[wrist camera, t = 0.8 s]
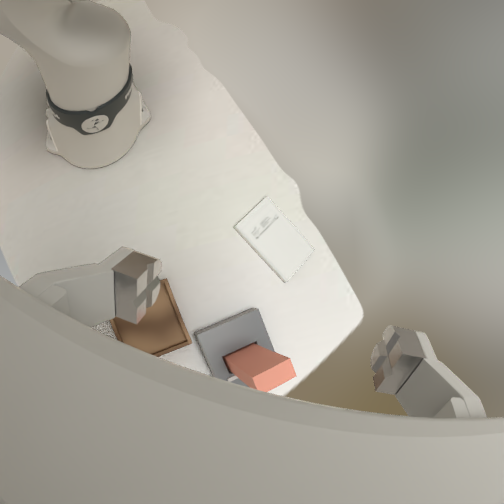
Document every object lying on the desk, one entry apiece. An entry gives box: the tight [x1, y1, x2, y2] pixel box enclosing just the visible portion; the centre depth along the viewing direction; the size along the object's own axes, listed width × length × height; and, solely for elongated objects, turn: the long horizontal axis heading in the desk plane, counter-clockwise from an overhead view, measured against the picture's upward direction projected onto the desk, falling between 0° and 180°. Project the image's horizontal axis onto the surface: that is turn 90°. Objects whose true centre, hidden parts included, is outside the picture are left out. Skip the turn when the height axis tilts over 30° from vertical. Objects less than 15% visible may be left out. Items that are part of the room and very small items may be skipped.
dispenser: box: [194, 308, 275, 388], centre depth 43 cm, size 12×10×3 cm
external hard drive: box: [233, 196, 315, 283], centre depth 49 cm, size 2×8×12 cm
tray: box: [110, 278, 192, 357], centre depth 40 cm, size 10×10×2 cm
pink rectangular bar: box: [222, 343, 296, 392], centre depth 38 cm, size 2×5×14 cm, turn 111°
